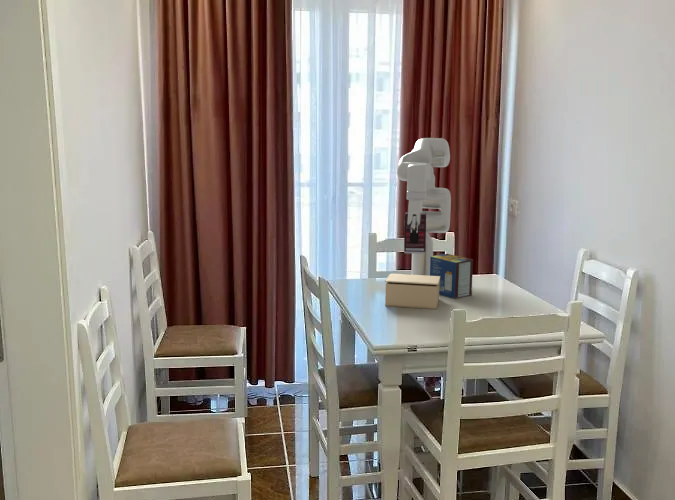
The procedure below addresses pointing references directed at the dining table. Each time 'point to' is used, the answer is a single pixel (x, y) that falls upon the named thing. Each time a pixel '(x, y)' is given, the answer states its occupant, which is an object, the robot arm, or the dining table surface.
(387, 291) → the carton
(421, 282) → the flap
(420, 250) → the supplement box
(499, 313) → the dining table surface
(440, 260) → the protein box
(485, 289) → the dining table surface
